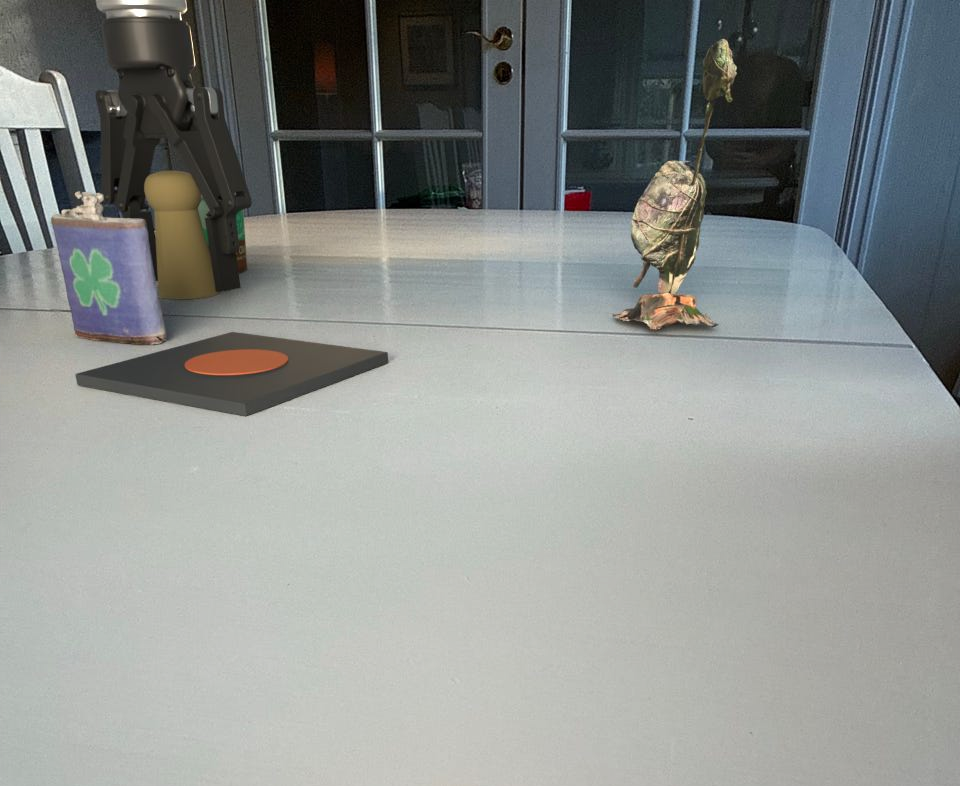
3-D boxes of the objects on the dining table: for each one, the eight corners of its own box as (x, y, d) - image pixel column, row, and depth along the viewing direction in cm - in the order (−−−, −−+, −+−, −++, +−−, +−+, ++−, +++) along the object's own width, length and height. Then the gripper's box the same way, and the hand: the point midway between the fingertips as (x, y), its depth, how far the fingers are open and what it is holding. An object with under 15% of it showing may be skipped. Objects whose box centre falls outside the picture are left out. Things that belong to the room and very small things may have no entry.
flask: (174, 340, 72) (147, 191, 67) (147, 347, 70) (117, 194, 64) (92, 330, 76) (60, 188, 70) (64, 337, 73) (29, 191, 68)
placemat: (77, 385, 60) (73, 372, 60) (233, 341, 71) (232, 330, 71) (245, 416, 54) (243, 401, 53) (389, 363, 65) (388, 350, 64)
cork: (204, 286, 94) (186, 168, 89) (230, 294, 90) (213, 170, 85) (149, 293, 91) (126, 171, 85) (173, 301, 87) (151, 173, 81)
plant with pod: (693, 309, 81) (722, 45, 71) (725, 336, 71) (763, 34, 61) (604, 311, 81) (620, 46, 71) (624, 338, 71) (645, 35, 61)
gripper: (271, 13, 77) (300, 288, 88) (91, 26, 87) (138, 272, 98) (208, 6, 71) (247, 301, 83) (23, 21, 81) (81, 282, 92)
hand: (188, 285), depth 90 cm, fingers open, 10 cm apart
